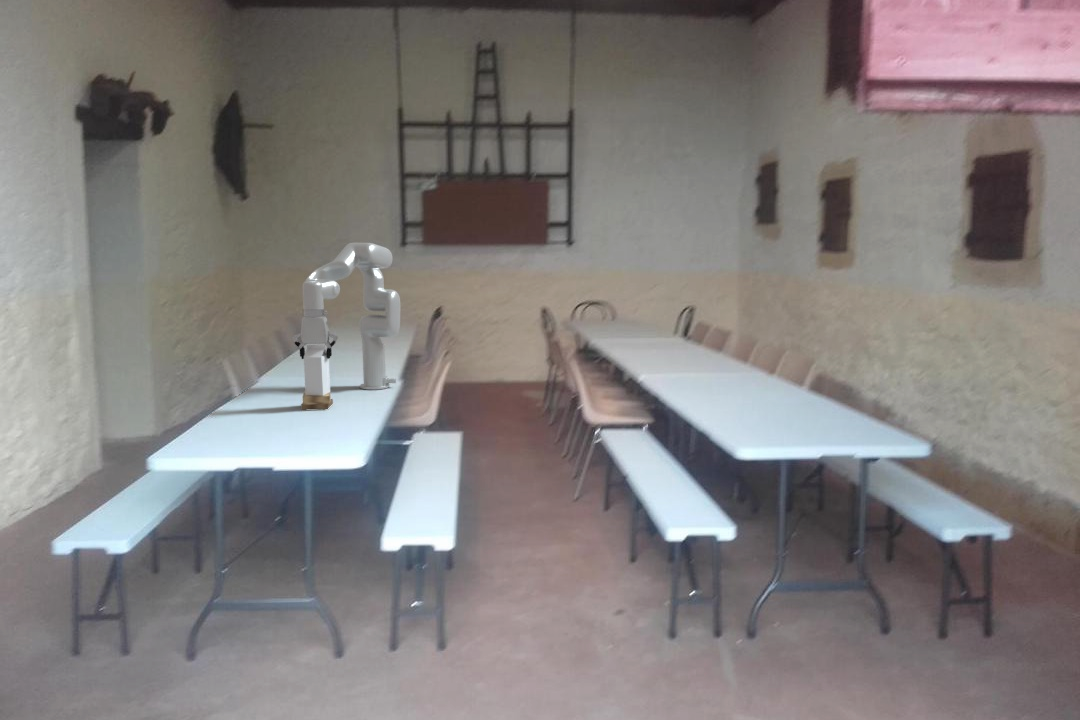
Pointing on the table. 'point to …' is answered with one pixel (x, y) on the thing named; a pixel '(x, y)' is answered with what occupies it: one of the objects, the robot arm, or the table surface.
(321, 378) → the milk carton
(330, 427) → the table surface
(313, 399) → the top slab
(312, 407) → the bottom slab
